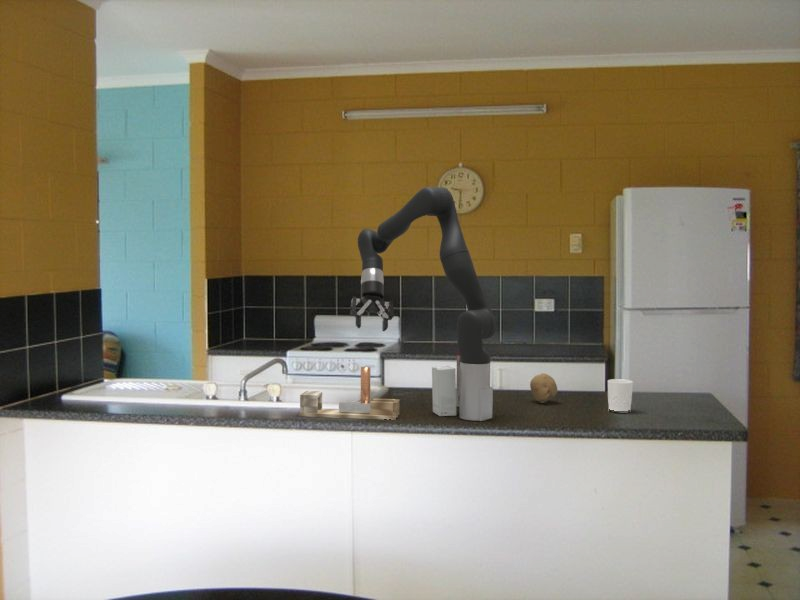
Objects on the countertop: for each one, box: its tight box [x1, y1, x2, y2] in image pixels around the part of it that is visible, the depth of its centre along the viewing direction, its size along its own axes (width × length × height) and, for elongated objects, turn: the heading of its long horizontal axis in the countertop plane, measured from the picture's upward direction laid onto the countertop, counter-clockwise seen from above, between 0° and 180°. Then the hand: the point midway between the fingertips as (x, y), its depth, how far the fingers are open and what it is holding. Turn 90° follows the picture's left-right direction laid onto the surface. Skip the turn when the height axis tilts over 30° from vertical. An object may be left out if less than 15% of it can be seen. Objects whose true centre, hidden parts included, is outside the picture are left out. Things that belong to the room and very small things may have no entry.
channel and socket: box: [298, 390, 400, 421], centre depth 251 cm, size 30×8×7 cm, turn 82°
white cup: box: [607, 378, 634, 411], centre depth 261 cm, size 8×8×10 cm
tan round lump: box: [529, 373, 558, 403], centre depth 275 cm, size 9×9×10 cm
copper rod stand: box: [338, 366, 372, 413], centre depth 250 cm, size 16×3×14 cm, turn 82°
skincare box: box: [431, 365, 457, 417], centre depth 255 cm, size 8×6×15 cm
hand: (371, 329), depth 265 cm, fingers open, 8 cm apart
